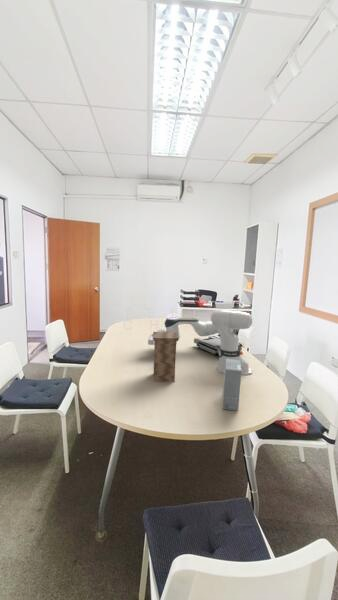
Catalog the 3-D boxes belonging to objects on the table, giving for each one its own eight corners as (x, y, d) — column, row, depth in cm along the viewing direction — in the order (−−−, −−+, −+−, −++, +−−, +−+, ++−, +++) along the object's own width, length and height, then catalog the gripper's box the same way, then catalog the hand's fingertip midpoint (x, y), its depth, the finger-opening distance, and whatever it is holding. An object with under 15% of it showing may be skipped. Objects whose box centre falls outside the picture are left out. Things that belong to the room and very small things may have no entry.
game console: (212, 343, 239) (213, 334, 238) (241, 355, 213) (242, 344, 212) (193, 347, 228) (194, 337, 227) (221, 359, 202) (221, 348, 200)
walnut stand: (174, 373, 173) (176, 332, 169) (176, 382, 160) (178, 338, 156) (151, 373, 172) (153, 331, 168) (151, 382, 159) (153, 337, 156)
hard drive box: (238, 411, 132) (241, 371, 129) (221, 409, 133) (224, 369, 130) (237, 396, 147) (240, 359, 144) (222, 394, 148) (225, 358, 145)
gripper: (176, 343, 206) (177, 349, 193) (148, 342, 205) (147, 348, 192) (176, 335, 206) (178, 340, 192) (148, 334, 204) (148, 339, 191)
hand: (162, 344), depth 192 cm, fingers open, 8 cm apart
